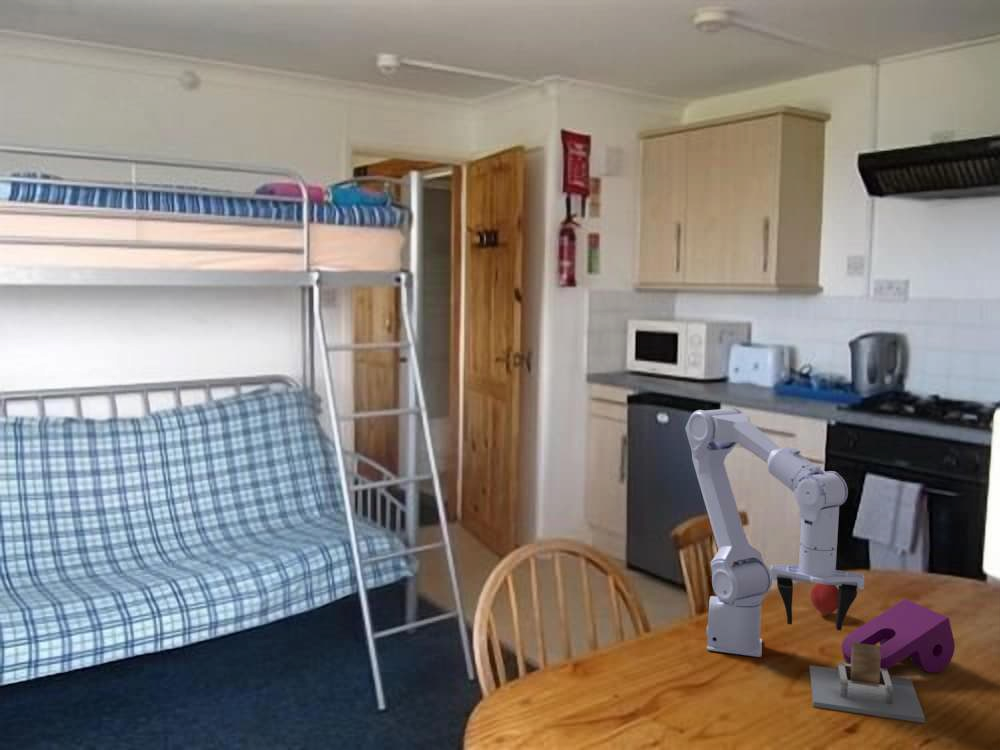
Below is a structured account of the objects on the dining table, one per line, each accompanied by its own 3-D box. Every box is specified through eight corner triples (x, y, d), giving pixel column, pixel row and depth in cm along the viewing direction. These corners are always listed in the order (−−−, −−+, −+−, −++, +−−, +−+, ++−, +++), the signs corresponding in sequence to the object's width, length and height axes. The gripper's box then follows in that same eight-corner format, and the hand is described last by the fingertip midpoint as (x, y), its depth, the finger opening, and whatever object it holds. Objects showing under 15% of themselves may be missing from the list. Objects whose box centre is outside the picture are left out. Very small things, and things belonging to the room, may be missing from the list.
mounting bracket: (881, 710, 146) (959, 658, 151) (870, 668, 144) (948, 617, 149) (841, 686, 154) (915, 637, 160) (829, 646, 152) (905, 598, 158)
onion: (814, 607, 179) (816, 570, 179) (843, 614, 176) (845, 575, 175) (805, 616, 175) (807, 577, 174) (835, 622, 171) (837, 583, 171)
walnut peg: (851, 693, 139) (853, 651, 139) (849, 683, 143) (851, 642, 143) (878, 697, 138) (880, 655, 138) (875, 686, 142) (878, 645, 141)
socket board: (813, 706, 137) (814, 686, 136) (809, 669, 150) (810, 651, 150) (924, 723, 132) (926, 702, 132) (910, 683, 145) (911, 664, 145)
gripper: (772, 547, 141) (768, 628, 143) (868, 557, 137) (863, 640, 138) (772, 536, 148) (768, 613, 149) (863, 544, 144) (859, 624, 145)
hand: (813, 625), depth 144 cm, fingers open, 7 cm apart
